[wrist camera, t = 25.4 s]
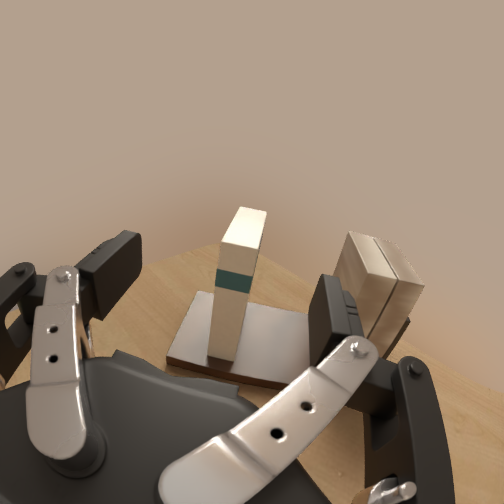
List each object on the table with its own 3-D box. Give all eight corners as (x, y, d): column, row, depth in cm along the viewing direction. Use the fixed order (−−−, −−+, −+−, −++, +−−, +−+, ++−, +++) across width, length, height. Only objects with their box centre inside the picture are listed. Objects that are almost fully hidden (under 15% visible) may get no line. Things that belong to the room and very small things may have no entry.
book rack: (364, 331, 33) (407, 241, 27) (380, 399, 23) (452, 300, 17) (197, 297, 33) (208, 194, 27) (166, 363, 24) (164, 238, 18)
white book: (246, 309, 31) (267, 211, 26) (234, 362, 24) (258, 249, 19) (223, 304, 31) (239, 206, 26) (206, 355, 24) (220, 241, 19)
